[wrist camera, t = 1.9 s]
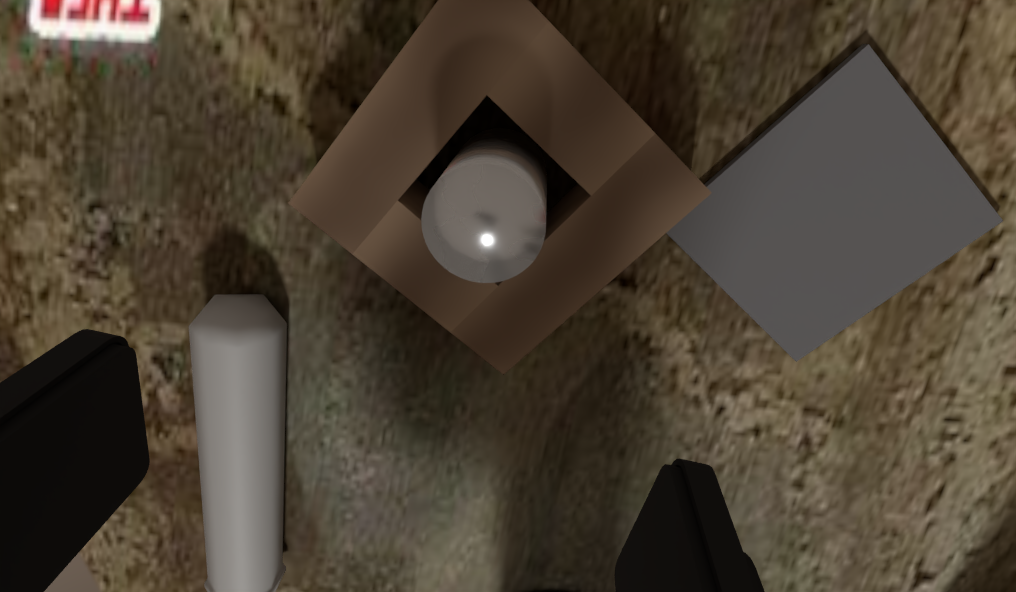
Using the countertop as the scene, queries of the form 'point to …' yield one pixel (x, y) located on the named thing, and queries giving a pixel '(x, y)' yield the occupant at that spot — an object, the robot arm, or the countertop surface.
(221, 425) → the tube
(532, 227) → the round peg
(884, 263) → the mat
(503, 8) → the bore block
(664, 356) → the countertop surface
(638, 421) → the countertop surface
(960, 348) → the countertop surface
